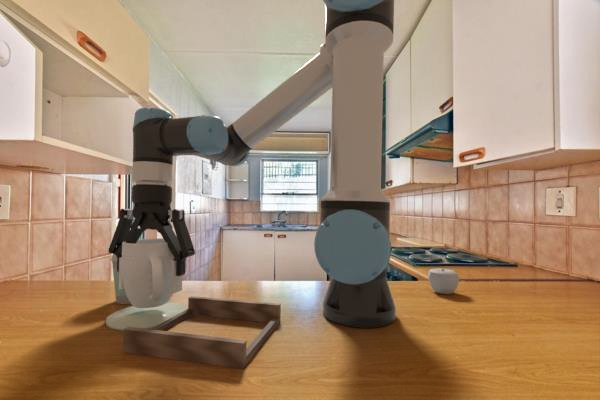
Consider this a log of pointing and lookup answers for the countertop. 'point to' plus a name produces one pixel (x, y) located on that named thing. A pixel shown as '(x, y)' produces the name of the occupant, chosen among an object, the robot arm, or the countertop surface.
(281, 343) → the countertop surface
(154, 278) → the mug
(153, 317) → the trivet
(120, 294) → the coffee cup
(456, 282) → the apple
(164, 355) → the frame
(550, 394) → the countertop surface
